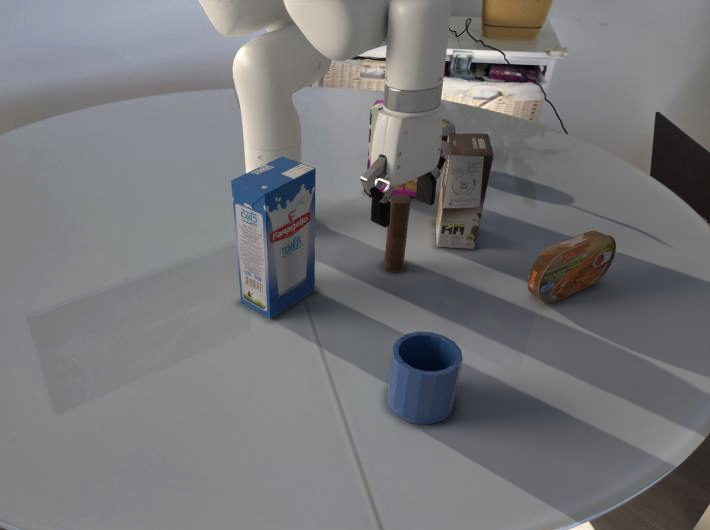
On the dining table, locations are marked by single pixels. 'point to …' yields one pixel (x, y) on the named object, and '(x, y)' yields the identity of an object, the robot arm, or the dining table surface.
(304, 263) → the milk carton
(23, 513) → the dining table surface
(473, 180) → the coffee box
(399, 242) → the dowel
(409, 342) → the cup
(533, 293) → the tin
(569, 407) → the dining table surface
